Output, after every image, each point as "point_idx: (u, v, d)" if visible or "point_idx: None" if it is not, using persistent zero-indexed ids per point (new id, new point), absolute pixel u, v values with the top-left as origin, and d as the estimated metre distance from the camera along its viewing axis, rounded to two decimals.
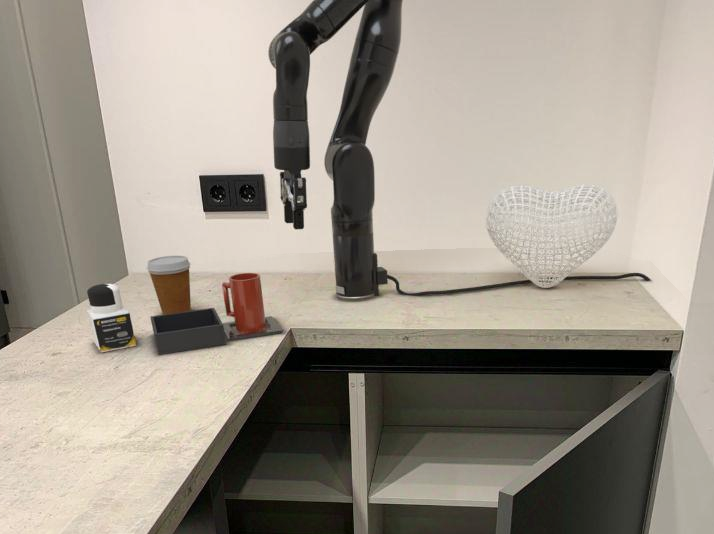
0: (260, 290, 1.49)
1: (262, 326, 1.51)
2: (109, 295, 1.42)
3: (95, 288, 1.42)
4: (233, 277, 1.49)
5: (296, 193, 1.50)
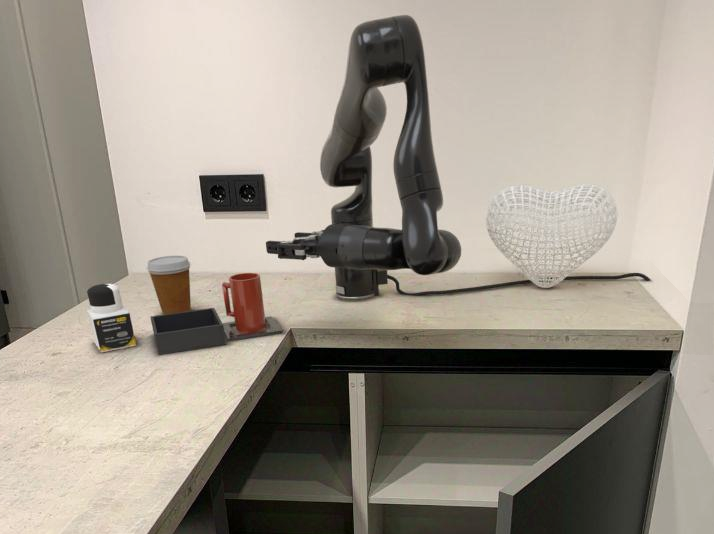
0: (260, 290, 1.49)
1: (262, 326, 1.51)
2: (109, 295, 1.42)
3: (95, 288, 1.42)
4: (233, 277, 1.49)
5: None
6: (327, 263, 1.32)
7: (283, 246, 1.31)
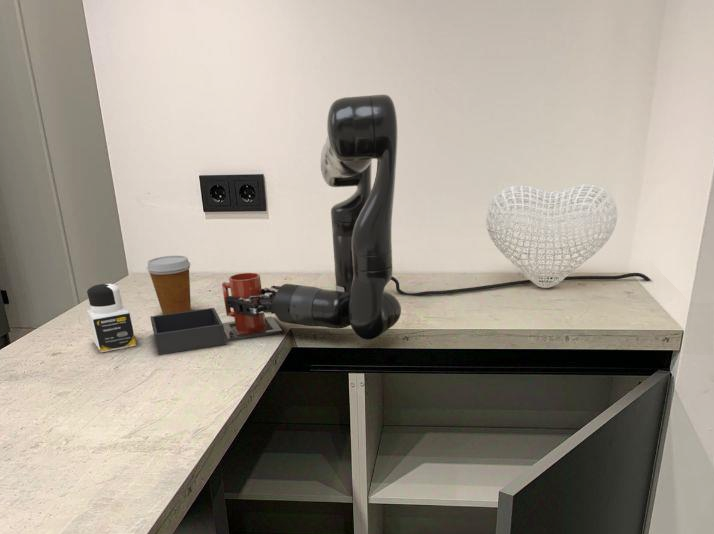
0: (260, 290, 1.49)
1: (262, 326, 1.51)
2: (109, 295, 1.42)
3: (95, 288, 1.42)
4: (233, 277, 1.49)
5: None
6: (281, 320, 1.44)
7: (240, 303, 1.43)
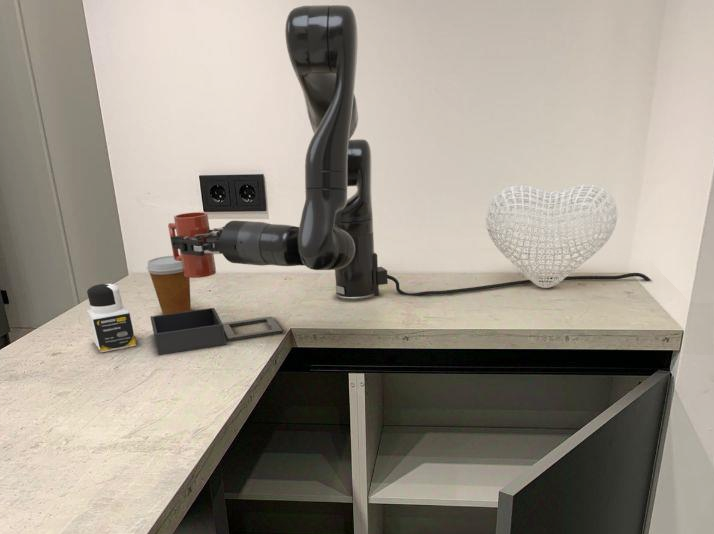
0: (208, 230, 1.39)
1: (211, 269, 1.41)
2: (109, 295, 1.42)
3: (95, 288, 1.42)
4: (179, 216, 1.39)
5: None
6: (228, 259, 1.34)
7: (184, 242, 1.33)
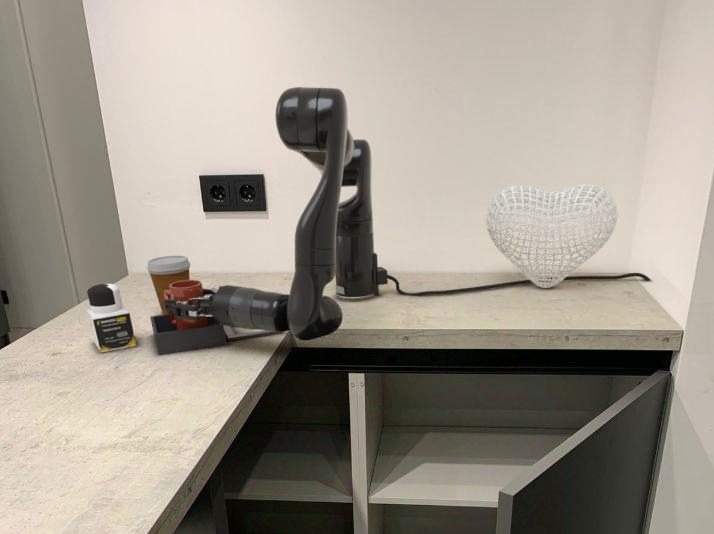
0: None
1: None
2: (109, 295, 1.42)
3: (95, 288, 1.42)
4: (174, 284, 1.44)
5: None
6: (221, 322, 1.39)
7: (177, 307, 1.37)
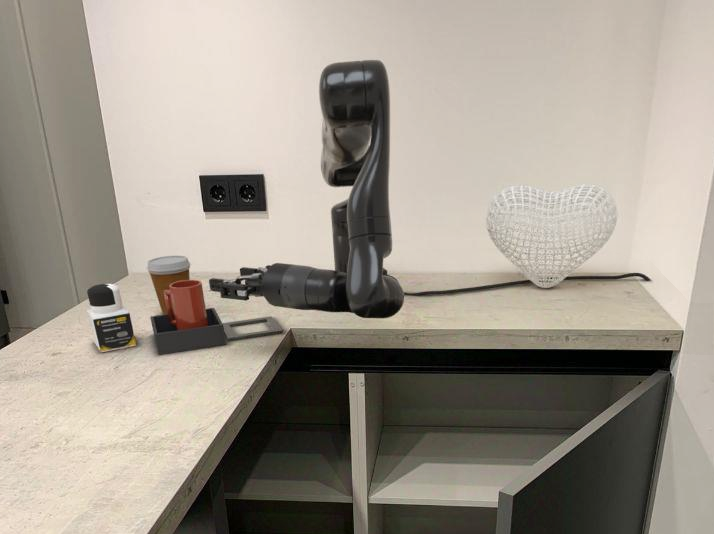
0: (202, 298, 1.44)
1: None
2: (109, 295, 1.42)
3: (95, 288, 1.42)
4: (174, 284, 1.44)
5: None
6: (271, 303, 1.30)
7: (225, 286, 1.28)
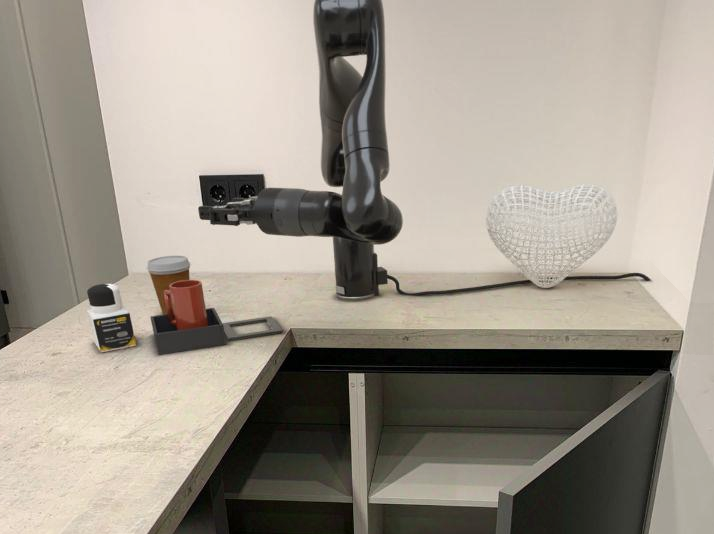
0: (202, 298, 1.44)
1: None
2: (109, 295, 1.42)
3: (95, 288, 1.42)
4: (174, 284, 1.44)
5: None
6: (263, 230, 1.24)
7: (215, 211, 1.22)
